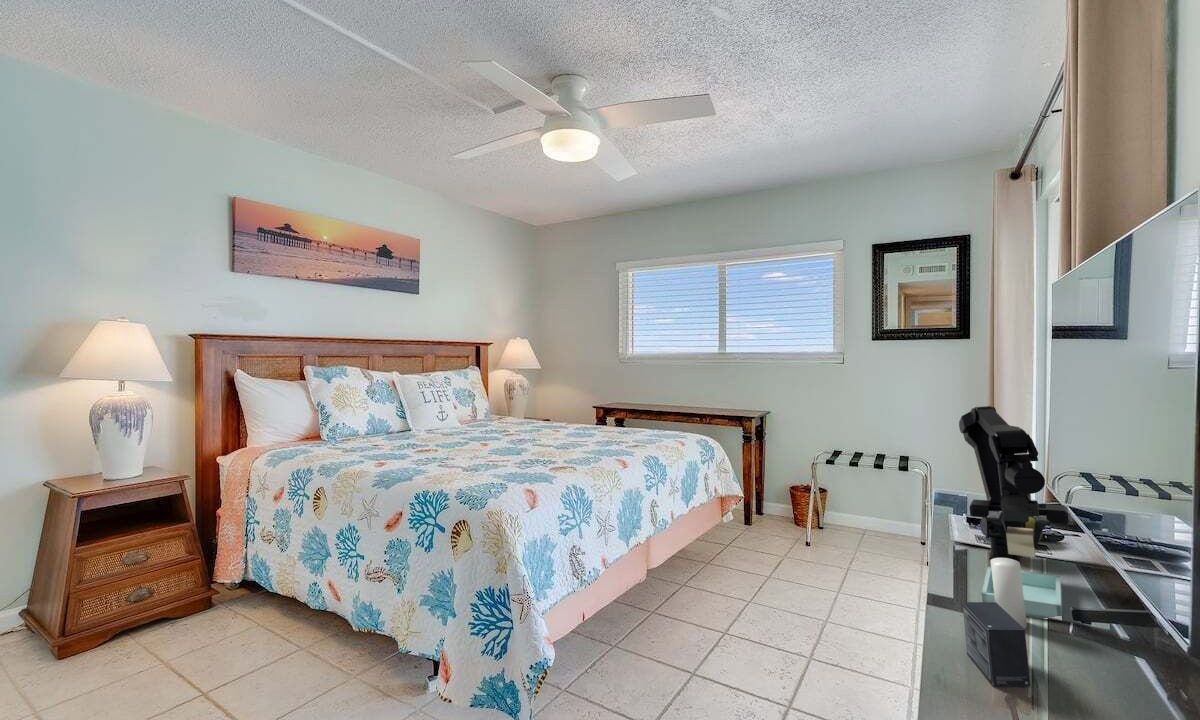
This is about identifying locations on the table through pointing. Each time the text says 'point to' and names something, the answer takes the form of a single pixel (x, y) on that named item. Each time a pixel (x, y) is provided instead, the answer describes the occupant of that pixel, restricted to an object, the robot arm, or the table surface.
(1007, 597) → the white tapered cylinder
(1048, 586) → the tote
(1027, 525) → the apple
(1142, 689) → the table surface
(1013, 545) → the cube
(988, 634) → the small box
